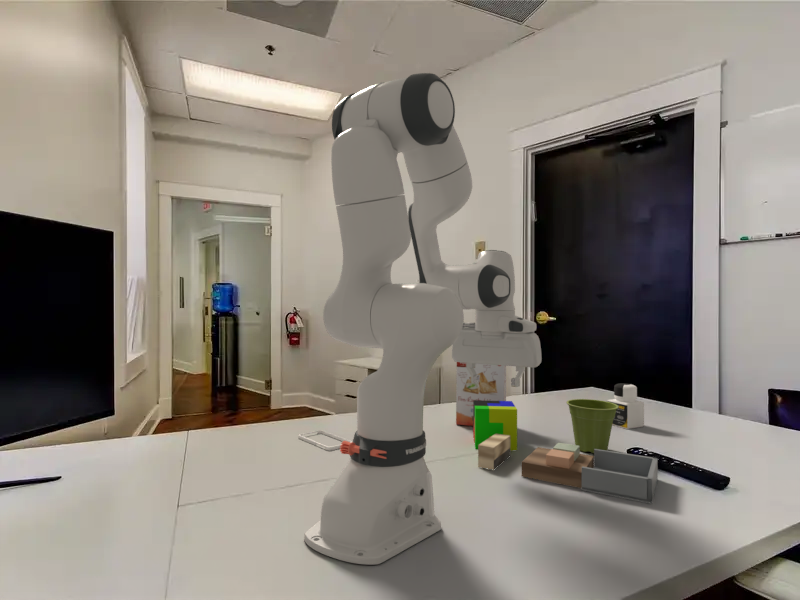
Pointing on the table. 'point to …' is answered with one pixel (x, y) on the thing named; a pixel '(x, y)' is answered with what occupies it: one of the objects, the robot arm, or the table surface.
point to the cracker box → (478, 389)
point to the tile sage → (568, 449)
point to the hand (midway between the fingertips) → (495, 384)
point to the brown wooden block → (555, 468)
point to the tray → (621, 475)
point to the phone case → (320, 443)
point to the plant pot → (592, 423)
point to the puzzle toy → (494, 421)
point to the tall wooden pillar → (493, 451)
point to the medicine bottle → (627, 407)
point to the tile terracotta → (560, 458)
